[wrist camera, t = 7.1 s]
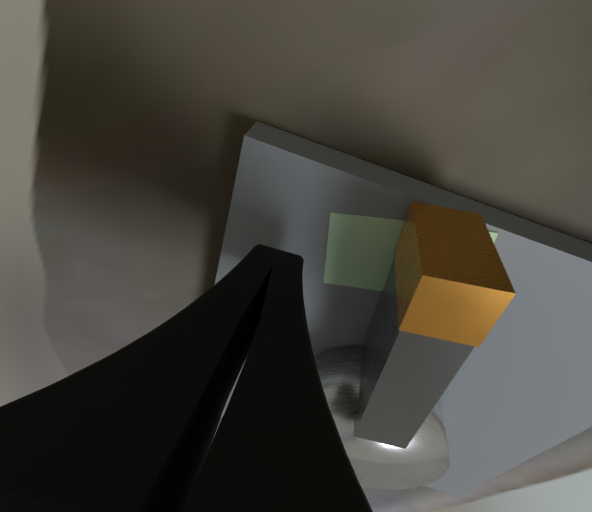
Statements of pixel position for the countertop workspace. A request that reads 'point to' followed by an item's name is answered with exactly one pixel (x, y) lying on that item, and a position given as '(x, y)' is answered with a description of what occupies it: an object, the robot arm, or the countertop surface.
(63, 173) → the countertop surface
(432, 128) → the countertop surface
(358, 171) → the board
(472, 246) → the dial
